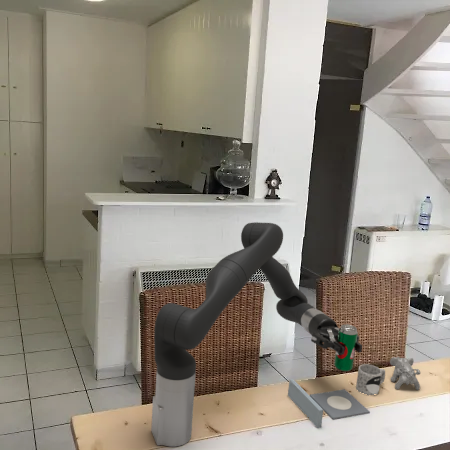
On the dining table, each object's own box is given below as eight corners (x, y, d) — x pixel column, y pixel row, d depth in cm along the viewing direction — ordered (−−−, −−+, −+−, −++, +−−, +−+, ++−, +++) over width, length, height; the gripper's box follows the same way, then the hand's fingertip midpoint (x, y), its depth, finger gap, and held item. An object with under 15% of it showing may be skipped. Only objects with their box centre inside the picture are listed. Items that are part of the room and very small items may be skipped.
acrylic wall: (317, 427, 130) (319, 410, 129) (287, 395, 145) (289, 379, 144) (321, 427, 131) (323, 409, 130) (291, 394, 145) (293, 379, 144)
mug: (367, 397, 147) (370, 377, 145) (351, 386, 152) (354, 366, 151) (391, 390, 152) (394, 370, 150) (374, 380, 157) (377, 360, 156)
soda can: (352, 373, 137) (358, 332, 134) (334, 370, 138) (339, 329, 135) (352, 364, 142) (357, 325, 139) (333, 361, 143) (339, 322, 140)
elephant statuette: (400, 394, 151) (405, 372, 149) (375, 373, 161) (380, 351, 159) (424, 391, 154) (430, 368, 152) (398, 370, 165) (403, 349, 163)
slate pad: (332, 419, 134) (333, 417, 134) (309, 396, 145) (309, 394, 145) (369, 413, 139) (369, 411, 139) (344, 390, 150) (344, 388, 150)
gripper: (299, 315, 148) (331, 340, 133) (340, 311, 153) (375, 335, 138) (296, 338, 149) (328, 366, 134) (337, 334, 155) (371, 360, 140)
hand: (352, 350), depth 136 cm, fingers closed on soda can, 5 cm apart
